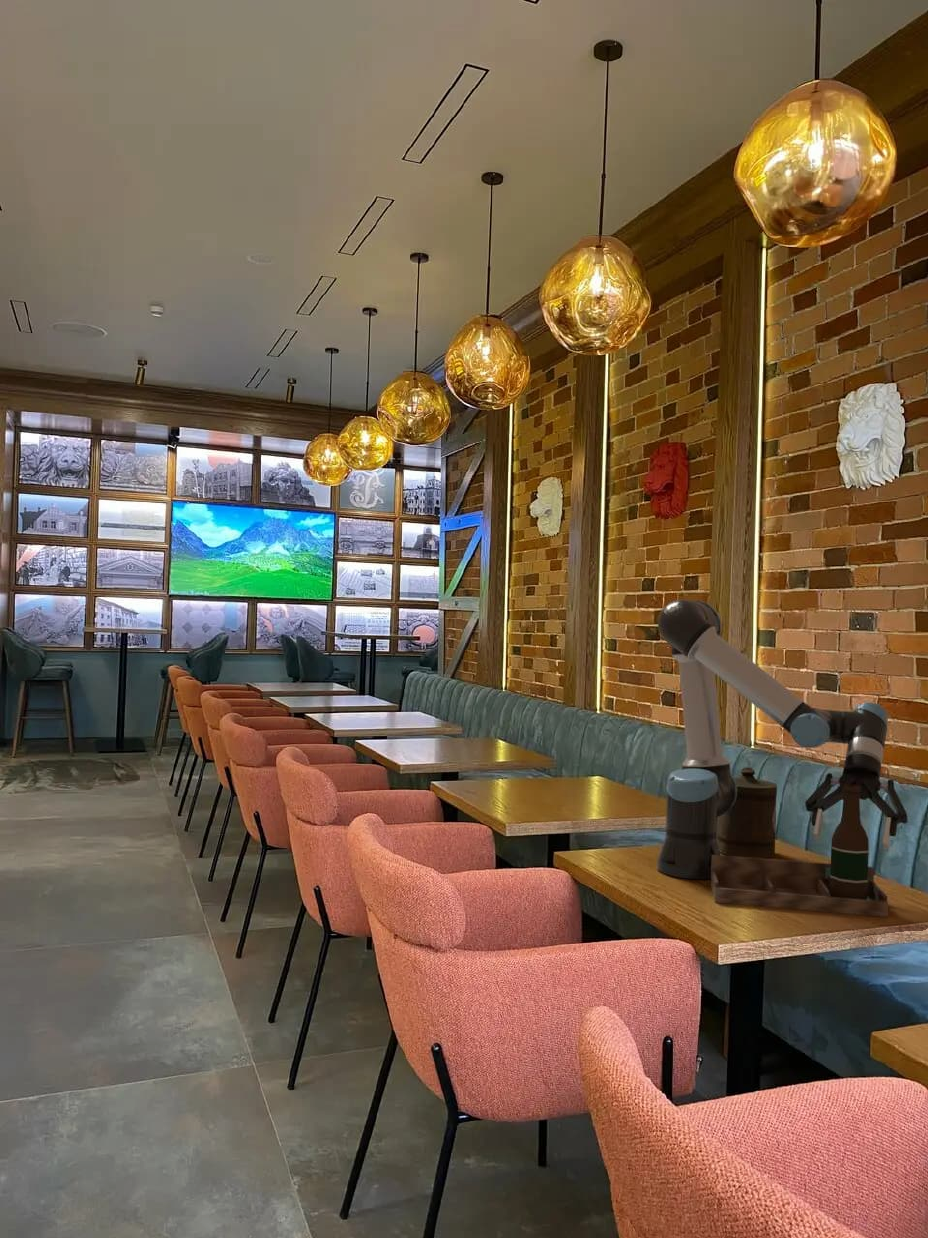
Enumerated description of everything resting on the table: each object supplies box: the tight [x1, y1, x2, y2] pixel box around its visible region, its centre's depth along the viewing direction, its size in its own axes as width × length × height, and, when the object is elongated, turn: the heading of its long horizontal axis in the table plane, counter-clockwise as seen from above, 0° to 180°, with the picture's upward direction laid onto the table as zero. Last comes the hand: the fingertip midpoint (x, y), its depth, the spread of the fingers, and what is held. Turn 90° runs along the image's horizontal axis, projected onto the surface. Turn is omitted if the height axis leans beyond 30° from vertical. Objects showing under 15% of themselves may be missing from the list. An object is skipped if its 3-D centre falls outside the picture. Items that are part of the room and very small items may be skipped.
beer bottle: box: [830, 784, 870, 900], centre depth 197 cm, size 8×8×24 cm
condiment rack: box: [710, 854, 889, 918], centre depth 199 cm, size 34×13×7 cm, turn 79°
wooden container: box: [716, 766, 778, 859], centre depth 243 cm, size 15×15×22 cm
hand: (850, 842), depth 195 cm, fingers open, 13 cm apart
